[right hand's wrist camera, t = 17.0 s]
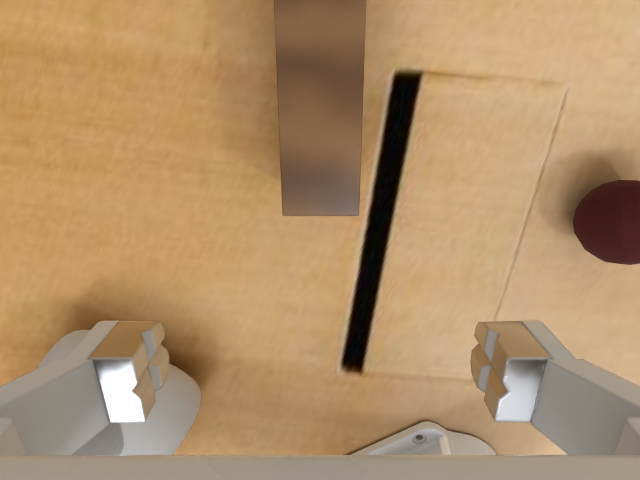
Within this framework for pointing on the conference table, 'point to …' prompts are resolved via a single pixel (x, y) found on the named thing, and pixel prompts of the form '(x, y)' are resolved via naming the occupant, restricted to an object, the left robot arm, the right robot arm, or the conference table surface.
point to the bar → (320, 104)
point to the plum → (611, 222)
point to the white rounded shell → (162, 422)
